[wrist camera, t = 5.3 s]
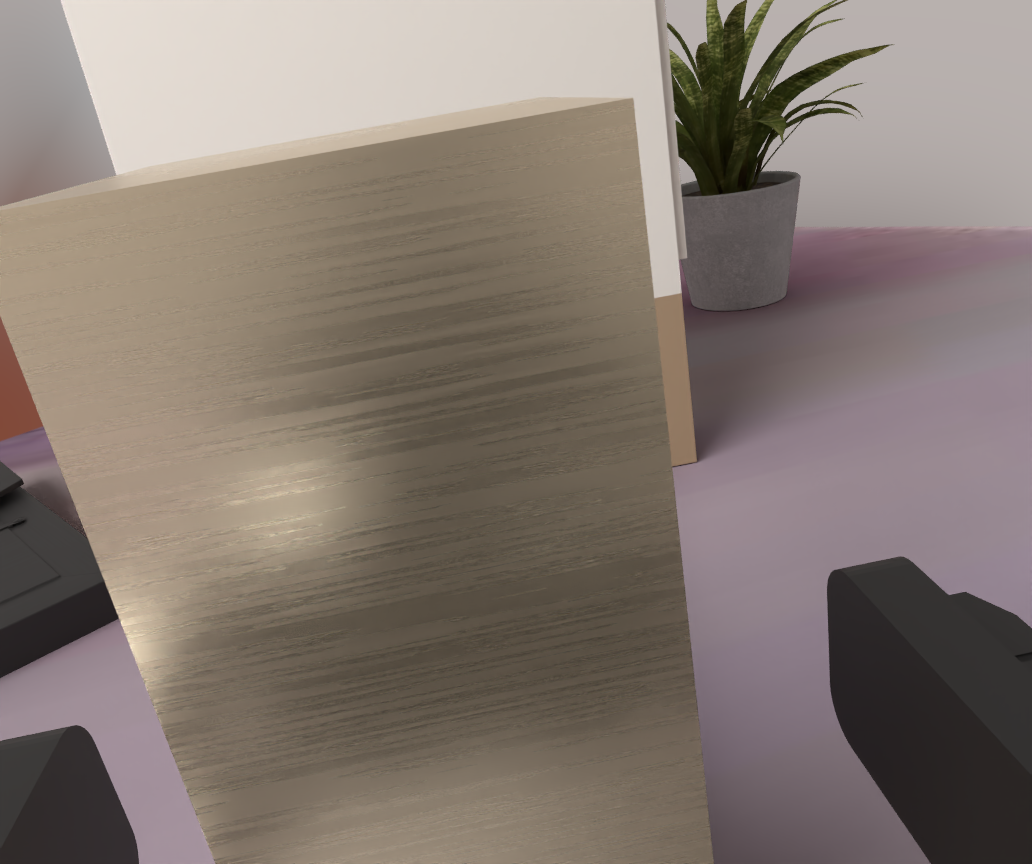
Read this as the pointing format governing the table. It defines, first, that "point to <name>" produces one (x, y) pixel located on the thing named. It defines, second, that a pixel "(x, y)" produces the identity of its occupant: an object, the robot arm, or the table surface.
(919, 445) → the table surface
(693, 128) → the house plant
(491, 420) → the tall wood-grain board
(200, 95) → the cabinet
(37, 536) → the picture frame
